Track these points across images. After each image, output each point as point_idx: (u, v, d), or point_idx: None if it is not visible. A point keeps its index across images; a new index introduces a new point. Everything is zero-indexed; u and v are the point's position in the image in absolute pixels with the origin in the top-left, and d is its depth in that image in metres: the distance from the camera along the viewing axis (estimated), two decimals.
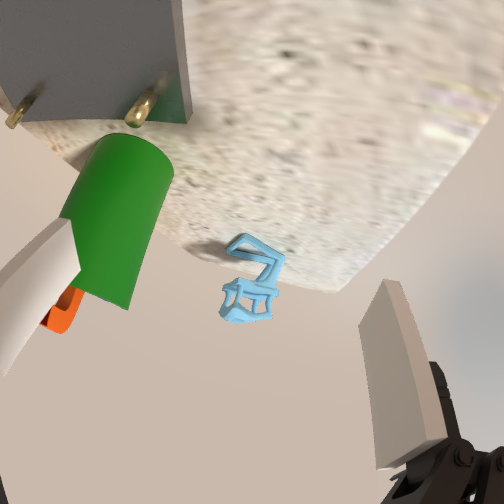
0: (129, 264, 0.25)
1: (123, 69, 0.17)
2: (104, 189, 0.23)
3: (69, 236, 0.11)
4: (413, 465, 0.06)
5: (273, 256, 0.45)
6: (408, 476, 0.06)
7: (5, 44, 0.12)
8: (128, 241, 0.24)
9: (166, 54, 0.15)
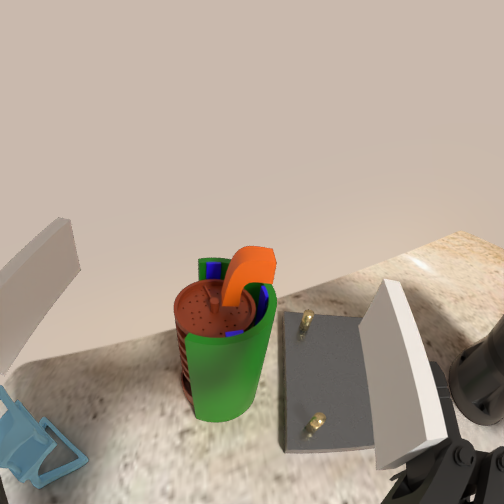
0: (223, 371, 0.22)
1: (333, 414, 0.29)
2: (260, 372, 0.28)
3: (69, 236, 0.11)
4: (413, 465, 0.06)
5: (46, 478, 0.17)
6: (408, 476, 0.06)
7: (356, 337, 0.39)
8: (234, 379, 0.23)
9: (346, 441, 0.26)
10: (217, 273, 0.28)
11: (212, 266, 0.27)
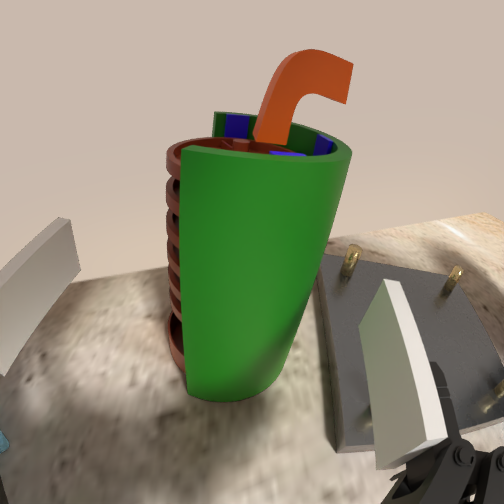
0: (254, 258, 0.11)
1: None
2: None
3: (69, 236, 0.11)
4: (413, 465, 0.06)
5: None
6: (408, 476, 0.06)
7: (412, 289, 0.28)
8: (272, 291, 0.12)
9: None
10: (242, 133, 0.17)
11: (235, 119, 0.16)
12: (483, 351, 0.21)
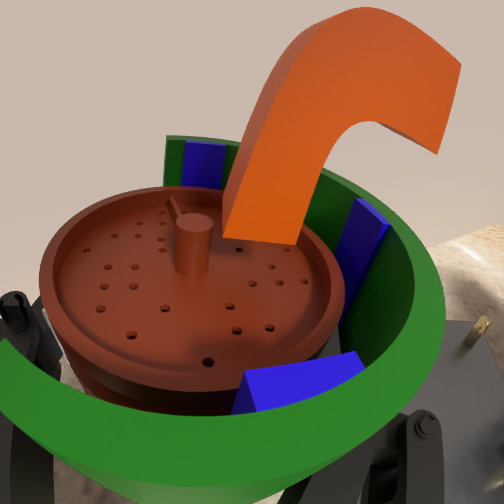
0: None
1: None
2: None
3: None
4: None
5: None
6: None
7: None
8: None
9: None
10: (212, 177, 0.10)
11: (201, 151, 0.09)
12: None
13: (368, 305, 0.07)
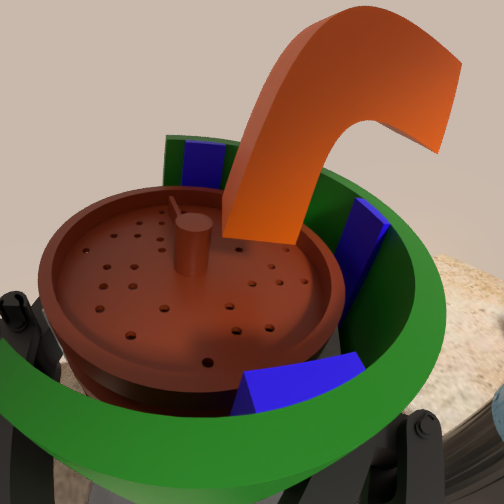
0: None
1: None
2: None
3: None
4: None
5: None
6: None
7: None
8: None
9: None
10: (212, 176, 0.10)
11: (200, 151, 0.09)
12: None
13: (368, 305, 0.07)
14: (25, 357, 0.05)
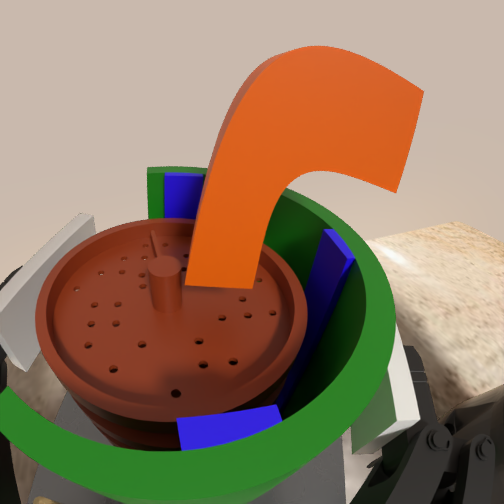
0: None
1: None
2: None
3: (91, 232, 0.11)
4: (387, 451, 0.06)
5: None
6: (384, 463, 0.06)
7: None
8: None
9: None
10: (193, 206, 0.10)
11: (179, 183, 0.10)
12: (309, 491, 0.13)
13: (336, 334, 0.07)
14: None
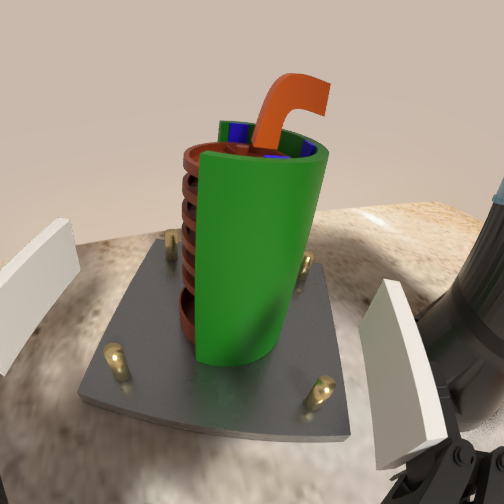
0: (252, 234, 0.15)
1: (161, 363, 0.20)
2: (296, 279, 0.20)
3: (69, 236, 0.11)
4: (413, 465, 0.06)
5: None
6: (408, 476, 0.06)
7: None
8: (267, 261, 0.16)
9: (166, 409, 0.17)
10: (242, 139, 0.20)
11: (237, 127, 0.20)
12: (312, 350, 0.24)
13: None
14: None
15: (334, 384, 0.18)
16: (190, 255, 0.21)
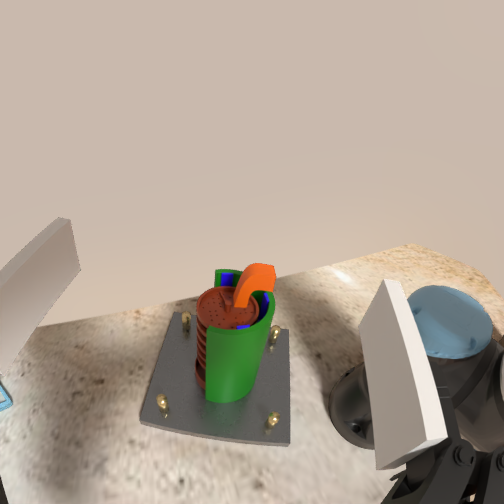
0: (232, 356, 0.30)
1: (186, 401, 0.35)
2: (260, 361, 0.35)
3: (69, 236, 0.11)
4: (413, 465, 0.06)
5: None
6: (408, 476, 0.06)
7: None
8: (240, 364, 0.31)
9: (190, 426, 0.32)
10: (229, 281, 0.36)
11: (226, 276, 0.35)
12: (273, 393, 0.39)
13: None
14: None
15: (279, 416, 0.33)
16: None
